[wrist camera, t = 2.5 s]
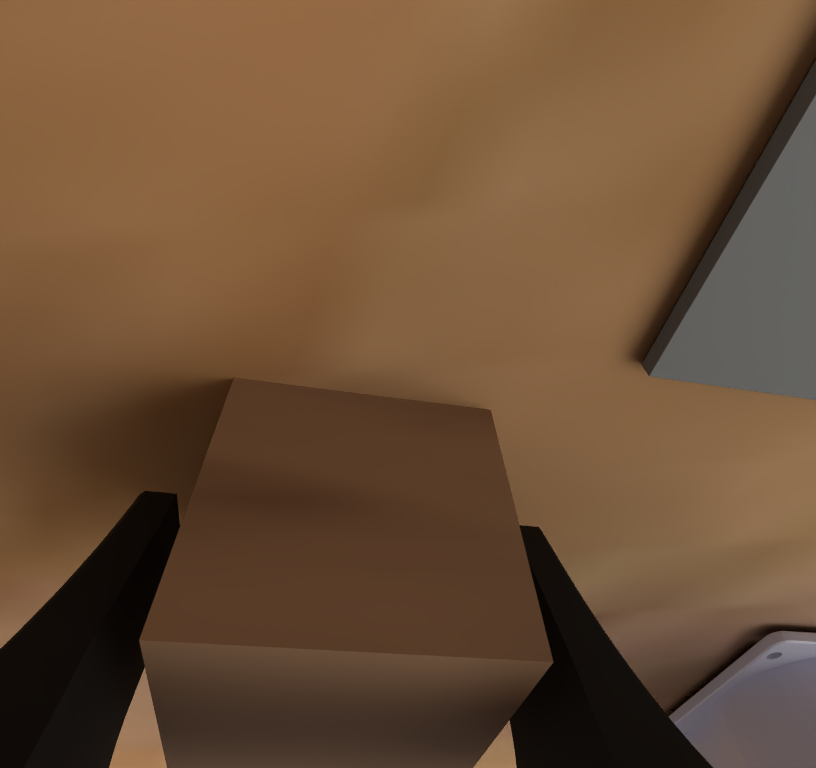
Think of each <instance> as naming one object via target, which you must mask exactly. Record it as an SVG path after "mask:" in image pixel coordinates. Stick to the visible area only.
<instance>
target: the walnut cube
mask: <svg viewBox="0 0 816 768" xmlns="http://www.w3.org/2000/svg"><path fill="white" fill-rule="evenodd" d="M139 642H140V647H141V651H142V656H143V660H144V665H145V669H146V674H147V678H148V683H149V687H150V692H151V696H152V701H153V705H154V710H155V714H156V719H157V723H158V728H159V732H160V737H161V742H162V746H163V751H164V755H165V760H166V764H167V768H473V767H474V766H475V764H476V763H477V762H478V760H479V759H480V758H481V756H482V755H483V754H484V753H485V751H486V750H487V749H488V747H489V746H490V745H491V743H492V742H493V741H494V739H495V738H496V737H497V736H498V734H499V733H500V732H501V730H502V729H503V728H504V726H505V725H506V724H507V722H508V721H509V720H510V718H511V717H512V716H513V715H514V713H515V712H516V711H517V709H518V708H519V707H520V705H521V704H522V703H523V701H524V700H525V699H526V697H527V696H528V695H529V694H530V692H531V691H532V690H533V688H534V687H535V686H536V684H537V683H538V682H539V680H540V679H541V678H542V676H543V675H544V674H545V673H546V671H547V670H548V669H549V667H550V666H551V665H552V663H553V659H552V655H551V651H550V646H549V642H548V638H547V634H546V630H545V626H544V622H543V618H542V614H541V610H540V606H539V602H538V598H537V594H536V590H535V586H534V582H533V578H532V574H531V570H530V566H529V562H528V558H527V554H526V550H525V546H524V542H523V538H522V534H521V530H520V526H519V522H518V518H517V514H516V510H515V506H514V502H513V498H512V494H511V490H510V486H509V482H508V478H507V474H506V470H505V466H504V462H503V458H502V454H501V450H500V446H499V442H498V438H497V434H496V430H495V426H494V422H493V418H492V414H491V410H485V409H477V408H469V407H461V406H453V405H445V404H437V403H429V402H421V401H413V400H405V399H397V398H390V397H382V396H374V395H366V394H358V393H350V392H342V391H334V390H326V389H318V388H310V387H302V386H294V385H286V384H278V383H270V382H262V381H254V380H246V379H238V378H234V379H233V381H232V384H231V387H230V390H229V392H228V395H227V398H226V401H225V403H224V406H223V409H222V412H221V415H220V417H219V420H218V423H217V426H216V428H215V431H214V434H213V437H212V440H211V442H210V445H209V448H208V451H207V453H206V456H205V459H204V462H203V464H202V467H201V470H200V473H199V476H198V478H197V481H196V484H195V487H194V489H193V492H192V495H191V498H190V501H189V503H188V506H187V509H186V512H185V514H184V517H183V520H182V523H181V525H180V528H179V531H178V534H177V537H176V539H175V542H174V545H173V548H172V550H171V553H170V556H169V559H168V562H167V564H166V567H165V570H164V573H163V575H162V578H161V581H160V584H159V586H158V589H157V592H156V595H155V598H154V600H153V603H152V606H151V609H150V611H149V614H148V617H147V620H146V623H145V625H144V628H143V631H142V634H141V636H140V639H139Z"/></svg>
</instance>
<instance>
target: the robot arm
mask: <svg viewBox="0 0 816 768" xmlns="http://www.w3.org/2000/svg"><path fill="white" fill-rule="evenodd" d="M519 526H520V530H521V534H522V538H523V542H524V546H525V550H526V554H527V558H528V562H529V566H530V570H531V574H532V578H533V582H534V586H535V590H536V594H537V598H538V602H539V606H540V610H541V614H542V618H543V622H544V626H545V630H546V634H547V638H548V642H549V646H550V651H551V655H552V659H553V663H552V665H551V666H550V667H549V669H548V670H547V671H546V673H545V674H544V675H543V676H542V678H541V679H540V680H539V682H538V683H537V684H536V686H535V687H534V688H533V690H532V691H531V692H530V694H529V695H528V696H527V697H526V699H525V700H524V701H523V703H522V704H521V705H520V707H519V708H518V709H517V711H516V712H515V713H514V715H513V716H512V717H511V718H510V724H511V730H512V736H513V742H514V748H515V756H516V765H517V768H816V633H809V632H794V631H777V632H773V633H770V634H768V635H767V636H765V637H764V638H762V639H761V640H760V641H759V642H758V643H756V644H755V645H754V646H753V647H752V648H750V649H749V650H748V651H747V652H746V653H744V654H743V655H742V656H741V657H740V658H738V659H737V660H736V661H735V662H733V663H732V664H731V665H730V666H729V667H727V668H726V669H725V670H724V671H723V672H721V673H720V674H719V675H718V676H717V677H715V678H714V679H713V680H712V681H711V682H709V683H708V684H707V685H706V686H704V687H703V688H702V689H701V690H700V691H698V692H697V693H696V694H695V695H694V696H692V697H691V698H690V699H689V700H688V701H686V702H685V703H684V704H683V705H682V706H680V707H679V708H678V709H677V710H676V711H674V712H673V713H672V714H671V715H669V716H668V715H667V714H666V713H665V712H664V711H663V709H662V708H661V707H660V706H659V704H658V703H657V702H656V701H655V699H654V698H653V697H652V696H651V694H650V693H649V692H648V690H647V689H646V688H645V687H644V685H643V684H642V683H641V681H640V680H639V679H638V677H637V676H636V675H635V673H634V672H633V671H632V669H631V668H630V667H629V665H628V664H627V662H626V661H625V660H624V658H623V657H622V655H621V654H620V653H619V651H618V650H617V649H616V647H615V646H614V644H613V643H612V641H611V640H610V638H609V637H608V636H607V634H606V633H605V631H604V630H603V628H602V627H601V625H600V624H599V622H598V621H597V619H596V618H595V616H594V615H593V613H592V612H591V610H590V609H589V607H588V605H587V604H586V602H585V601H584V599H583V598H582V596H581V595H580V593H579V591H578V590H577V588H576V587H575V585H574V583H573V582H572V580H571V579H570V577H569V575H568V574H567V572H566V571H565V569H564V567H563V566H562V564H561V562H560V561H559V559H558V557H557V556H556V554H555V552H554V551H553V549H552V547H551V546H550V544H549V542H548V541H547V539H546V537H545V536H544V534H543V532H542V531H541V529H540V528H539V527H532V526H521V525H519ZM179 528H180V522H179V512H178V502H177V494H173V493H162V492H151V491H144V492H143V493H141V494H140V495H139V496H138V497H137V499H136V500H135V501H134V502H133V504H132V505H131V506H130V508H129V509H128V510H127V511H126V513H125V514H124V515H123V517H122V518H121V519H120V520H119V522H118V523H117V524H116V525H115V526H114V528H113V529H112V530H111V531H110V533H109V534H108V535H107V536H106V537H105V538H104V540H103V541H102V542H101V543H100V544H99V546H98V547H97V548H96V549H95V550H94V551H93V553H92V554H91V555H90V556H89V557H88V558H87V559H86V560H85V561H84V563H83V564H82V565H81V566H80V567H79V568H78V569H77V570H76V571H75V573H74V574H73V575H72V576H71V577H70V578H69V579H68V580H67V582H66V583H65V584H64V585H63V586H62V587H61V588H60V589H59V590H58V591H57V592H56V593H55V594H54V596H53V597H52V598H51V599H50V600H49V601H48V602H47V603H46V604H45V605H44V606H43V607H42V608H41V609H40V610H39V611H38V612H37V613H36V614H35V615H34V616H33V617H32V618H31V619H30V620H29V621H28V622H27V623H26V624H25V625H24V626H23V627H22V628H21V629H20V630H19V631H18V632H17V633H16V634H15V635H14V636H13V637H12V638H11V639H10V640H9V641H8V642H7V643H6V644H5V645H4V646H3V647H2V648H1V649H0V768H109V765H110V762H111V759H112V755H113V752H114V749H115V745H116V742H117V739H118V736H119V733H120V730H121V728H122V725H123V722H124V719H125V716H126V713H127V711H128V708H129V706H130V703H131V701H132V698H133V696H134V693H135V690H136V688H137V685H138V683H139V680H140V678H141V675H142V672H143V670H144V667H145V665H144V660H143V656H142V651H141V647H140V642H139V639H140V636H141V634H142V631H143V628H144V625H145V623H146V620H147V617H148V614H149V611H150V609H151V606H152V603H153V600H154V598H155V595H156V592H157V589H158V586H159V584H160V581H161V578H162V575H163V573H164V570H165V567H166V564H167V562H168V559H169V556H170V553H171V550H172V548H173V545H174V542H175V539H176V537H177V534H178V531H179Z"/></svg>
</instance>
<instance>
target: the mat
mask: <svg viewBox="0 0 816 768" xmlns="http://www.w3.org/2000/svg"><path fill="white" fill-rule="evenodd" d="M642 366H643V367H644V369H645V371H646V372H647V374H648V375H649V376H651V377H658V378H665V379H672V380H679V381H686V382H693V383H700V384H707V385H714V386H721V387H728V388H735V389H742V390H749V391H757V392H764V393H771V394H778V395H785V396H792V397H799V398H806V399H813V400H816V60H815V62H814V64H813V65H812V67H811V69H810V71H809V72H808V74H807V76H806V78H805V79H804V81H803V83H802V85H801V86H800V88H799V90H798V92H797V93H796V95H795V97H794V99H793V100H792V102H791V104H790V106H789V107H788V109H787V111H786V113H785V114H784V116H783V118H782V120H781V121H780V123H779V125H778V127H777V128H776V130H775V132H774V134H773V135H772V137H771V139H770V141H769V142H768V144H767V146H766V148H765V150H764V151H763V153H762V155H761V157H760V158H759V160H758V162H757V164H756V165H755V167H754V169H753V171H752V172H751V174H750V176H749V178H748V179H747V181H746V183H745V185H744V186H743V188H742V190H741V192H740V193H739V195H738V197H737V199H736V200H735V202H734V204H733V206H732V207H731V209H730V211H729V213H728V214H727V216H726V218H725V220H724V221H723V223H722V225H721V227H720V228H719V230H718V232H717V234H716V235H715V237H714V239H713V241H712V242H711V244H710V246H709V248H708V249H707V251H706V253H705V255H704V256H703V258H702V260H701V262H700V263H699V265H698V267H697V269H696V270H695V272H694V274H693V276H692V277H691V279H690V281H689V283H688V284H687V286H686V288H685V290H684V291H683V293H682V295H681V297H680V298H679V300H678V302H677V304H676V305H675V307H674V309H673V311H672V312H671V314H670V316H669V318H668V319H667V321H666V323H665V325H664V326H663V328H662V330H661V332H660V333H659V335H658V337H657V339H656V340H655V342H654V344H653V346H652V347H651V349H650V351H649V353H648V354H647V356H646V358H645V360H644V361H643V363H642Z"/></svg>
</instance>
